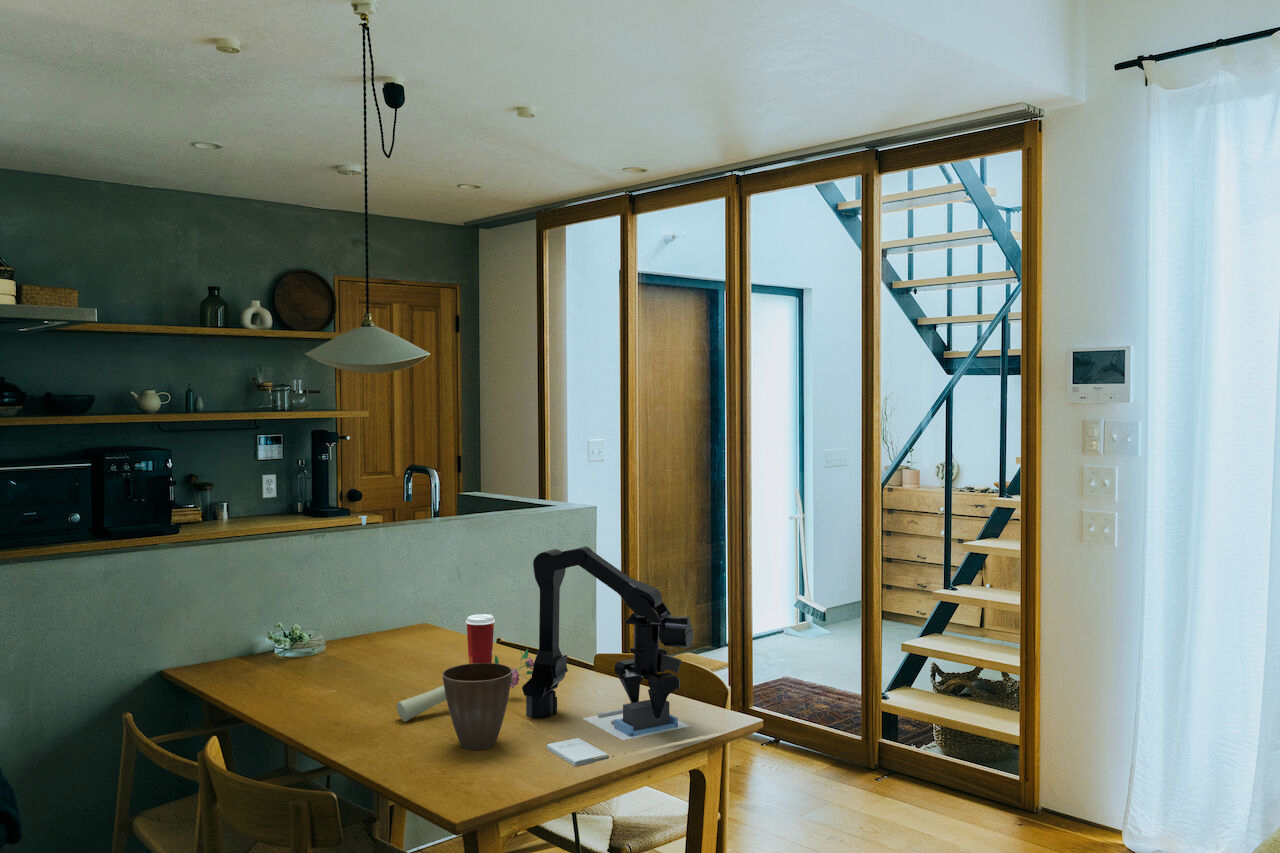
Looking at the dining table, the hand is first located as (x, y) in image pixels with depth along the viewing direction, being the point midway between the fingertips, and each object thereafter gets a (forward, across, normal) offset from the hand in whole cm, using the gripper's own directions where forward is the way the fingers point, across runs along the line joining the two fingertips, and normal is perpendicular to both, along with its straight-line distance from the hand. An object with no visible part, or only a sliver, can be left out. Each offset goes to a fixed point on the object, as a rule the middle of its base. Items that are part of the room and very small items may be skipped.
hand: (646, 712), depth 223 cm
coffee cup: (+4, +68, +11) cm, 69 cm away
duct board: (+4, +4, 0) cm, 6 cm away
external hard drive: (+5, -4, +20) cm, 21 cm away
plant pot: (+4, +12, +36) cm, 38 cm away
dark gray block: (+3, 0, 0) cm, 3 cm away
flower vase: (+4, +37, +28) cm, 47 cm away
